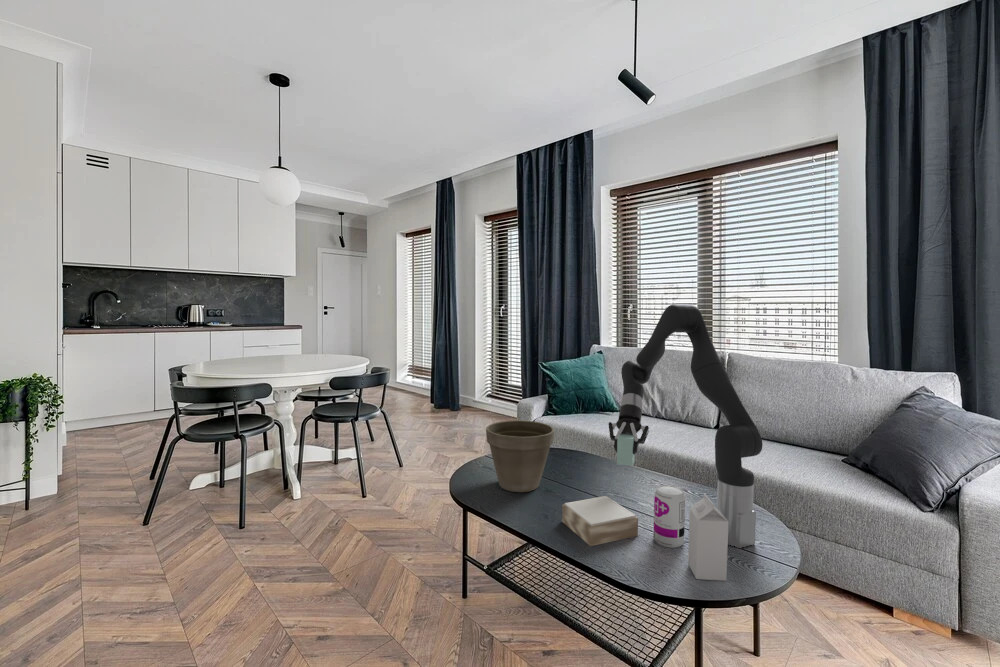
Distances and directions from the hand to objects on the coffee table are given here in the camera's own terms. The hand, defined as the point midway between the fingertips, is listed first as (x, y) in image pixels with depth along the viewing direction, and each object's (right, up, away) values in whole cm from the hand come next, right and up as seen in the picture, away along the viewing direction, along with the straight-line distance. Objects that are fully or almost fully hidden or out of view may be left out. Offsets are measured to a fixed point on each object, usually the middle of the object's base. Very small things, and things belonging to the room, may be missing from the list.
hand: (625, 452), depth 160 cm
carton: (+1, -4, +2) cm, 5 cm away
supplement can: (+6, -20, -24) cm, 32 cm away
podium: (-12, -19, -16) cm, 28 cm away
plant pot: (-34, -17, +18) cm, 42 cm away
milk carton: (+10, -21, -40) cm, 46 cm away
